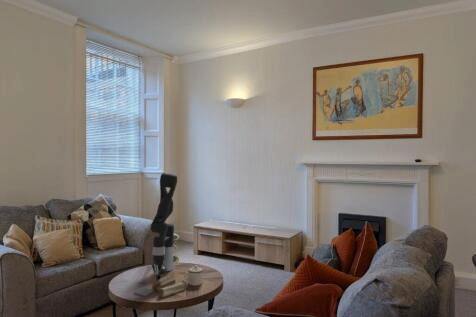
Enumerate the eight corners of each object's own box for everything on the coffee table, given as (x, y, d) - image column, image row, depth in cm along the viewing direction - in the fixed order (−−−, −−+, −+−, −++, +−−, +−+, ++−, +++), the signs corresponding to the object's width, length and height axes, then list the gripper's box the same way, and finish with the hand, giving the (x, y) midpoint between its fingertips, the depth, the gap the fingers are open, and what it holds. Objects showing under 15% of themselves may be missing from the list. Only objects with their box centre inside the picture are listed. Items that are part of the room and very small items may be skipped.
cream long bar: (159, 296, 197) (159, 288, 197) (183, 287, 211) (183, 280, 211) (162, 297, 195) (162, 289, 195) (186, 288, 209) (186, 281, 209)
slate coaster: (133, 293, 200) (133, 292, 200) (144, 288, 208) (144, 287, 208) (145, 296, 196) (145, 295, 196) (155, 291, 204) (155, 290, 204)
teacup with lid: (201, 280, 224) (201, 262, 223) (203, 285, 215) (203, 267, 215) (183, 281, 221) (183, 263, 221) (184, 286, 212) (184, 268, 212)
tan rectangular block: (152, 290, 206) (152, 282, 206) (166, 284, 216) (166, 276, 216) (161, 293, 202) (161, 285, 202) (175, 287, 212) (175, 279, 212)
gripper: (147, 252, 214) (147, 279, 214) (159, 256, 205) (159, 284, 205) (157, 249, 220) (157, 276, 220) (169, 254, 211) (169, 281, 211)
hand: (158, 280), depth 212 cm, fingers closed
